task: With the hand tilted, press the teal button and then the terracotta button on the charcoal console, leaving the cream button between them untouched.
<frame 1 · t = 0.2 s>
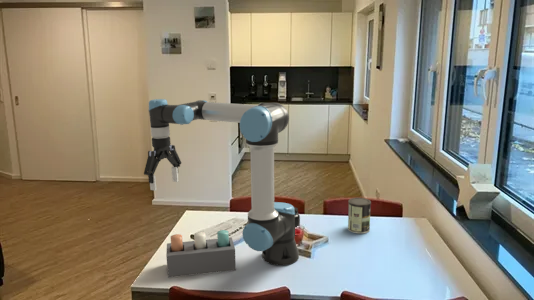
hand: (164, 185, 191), 28 cm above the table, tool pointing down, fingers open, 13 cm apart
supplement bottle: (292, 233, 210), on the table
coffee can: (358, 229, 213), on the table
teal button: (223, 239, 178), point 11 cm above the table, slide at 0.0 cm
button console: (201, 267, 179), on the table
cream button: (200, 241, 176), point 11 cm above the table, slide at 0.0 cm
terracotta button: (176, 243, 175), point 11 cm above the table, slide at 0.0 cm
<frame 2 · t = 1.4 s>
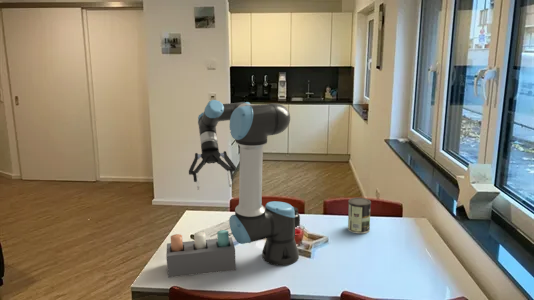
hand: (214, 187, 190), 27 cm above the table, tool tilted 45°, fingers open, 13 cm apart
nothing on the table moved.
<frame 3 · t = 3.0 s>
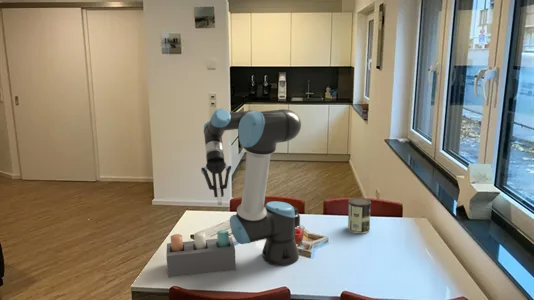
hand: (219, 203, 182), 23 cm above the table, tool tilted 45°, fingers closed
nothing on the table moved.
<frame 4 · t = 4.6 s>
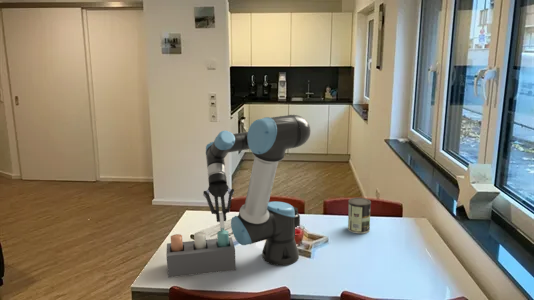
hand: (222, 228, 178), 15 cm above the table, tool tilted 45°, fingers closed
teal button: (223, 239, 178), point 11 cm above the table, slide at 0.1 cm, touching gripper
everything else where it was.
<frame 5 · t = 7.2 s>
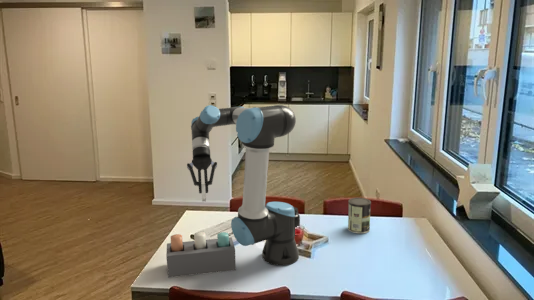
hand: (204, 199, 183), 25 cm above the table, tool tilted 45°, fingers closed
teal button: (223, 241, 178), point 10 cm above the table, slide at 1.0 cm
everything else where it was.
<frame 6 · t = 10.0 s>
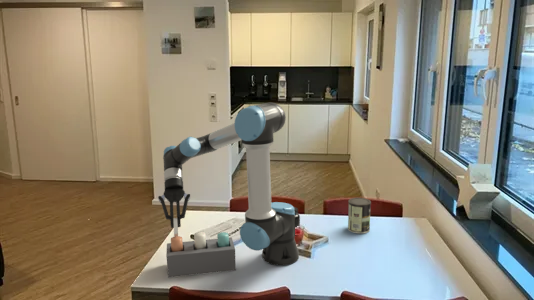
hand: (176, 234, 174), 14 cm above the table, tool tilted 45°, fingers closed
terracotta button: (176, 245, 175), point 10 cm above the table, slide at 0.8 cm, touching gripper
everything else where it was.
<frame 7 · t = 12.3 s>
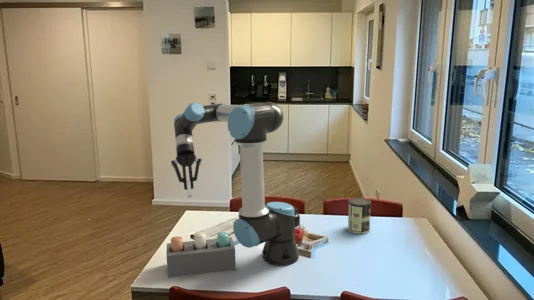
hand: (189, 196, 184), 26 cm above the table, tool tilted 45°, fingers closed
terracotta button: (176, 246, 175), point 10 cm above the table, slide at 0.9 cm
everything else where it was.
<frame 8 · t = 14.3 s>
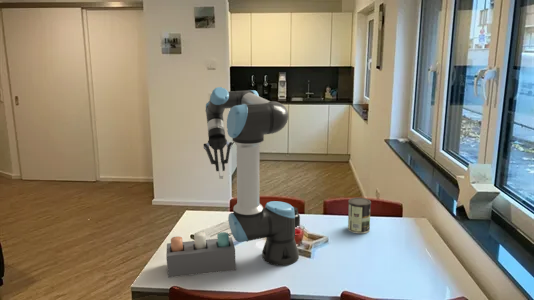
hand: (221, 177, 191), 31 cm above the table, tool tilted 45°, fingers closed
nothing on the table moved.
at the end: teal button slide at 1.0 cm; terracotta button slide at 0.9 cm; cream button slide at 0.0 cm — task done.
